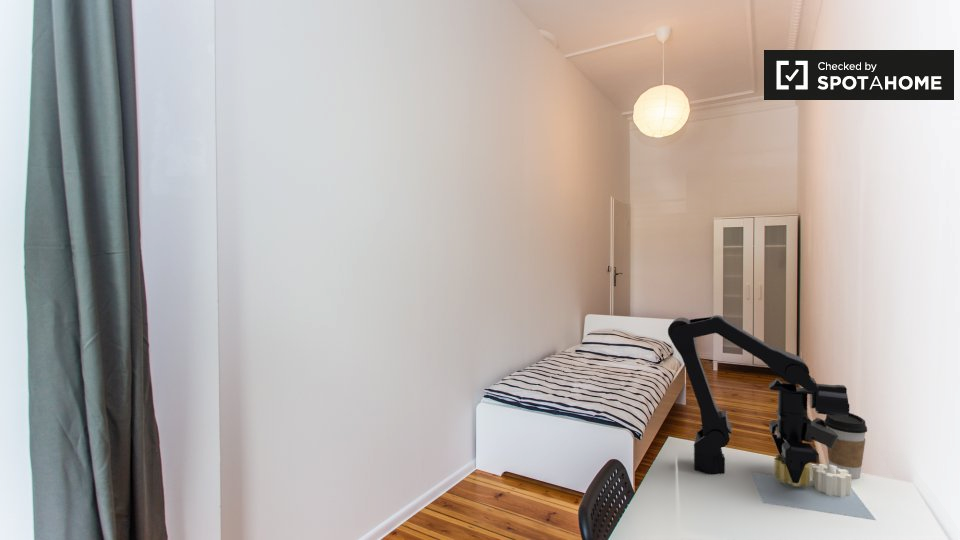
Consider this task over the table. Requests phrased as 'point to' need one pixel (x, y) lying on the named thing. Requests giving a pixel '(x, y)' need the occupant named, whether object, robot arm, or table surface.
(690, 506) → the table surface
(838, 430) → the coffee cup
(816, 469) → the cream gear
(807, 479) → the brass gear
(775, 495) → the gear board
